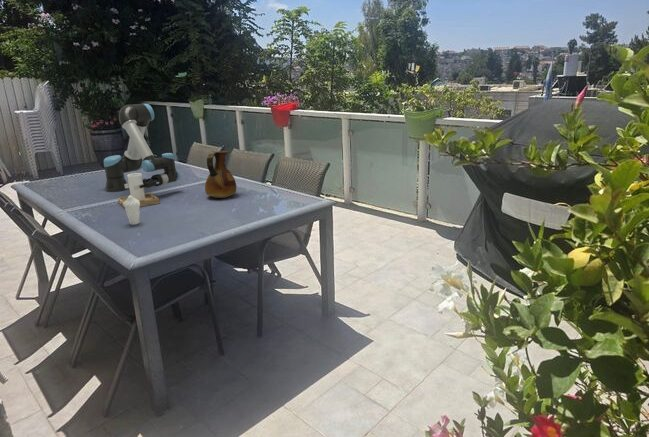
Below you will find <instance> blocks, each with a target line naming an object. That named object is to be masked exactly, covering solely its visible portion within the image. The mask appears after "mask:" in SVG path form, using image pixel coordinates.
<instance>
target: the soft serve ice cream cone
mask: <svg viewBox="0 0 649 437" xmlns="http://www.w3.org/2000/svg"><path fill="white" fill-rule="evenodd" d="M128 196H129V197H128ZM128 196H127V197H128V198H127V199H126V201H125V202H124V203H123V204H124V207H125V208H124V207H123V208H124V209H125V213H126V216H127V218H128V220H129V224H130V225H133V226H134V225H138V224H140V214H141V212H140V208H141V207H139V206H140V202H139V200H137V199H135V198H133V197H132V196H131V195H130V194H129V195H128Z"/></svg>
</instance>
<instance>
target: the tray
mask: <svg viewBox="0 0 649 437" xmlns="http://www.w3.org/2000/svg"><path fill="white" fill-rule="evenodd" d="M128 197H129V195H128V196H123V197H118V198H117V202H118V204H119V205H120V206H121V207H123V209H125V207H124V204H123V203H124V202H125V201H126V199H127V198H128ZM139 202H140V206H139V207H140V208H143V207H148V206H155V205H159V204H160V203H161V202H160V198H158V196H156V195H154V194H152V193H151V192H148V193H145V200H142V201H139Z"/></svg>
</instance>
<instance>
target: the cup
mask: <svg viewBox="0 0 649 437" xmlns="http://www.w3.org/2000/svg"><path fill="white" fill-rule="evenodd" d="M142 179H143V175H142V173H140V172H134V173H133V172H132V173H129V174H127V183H129V188H128V189H129V193H130V194H129V195H131V196H132V197H133V198H135V199H137V200H139V201H142V200H145V194H146V193H145V187H144V188H141V189H138V190H134V186H135V185H138V184H142V183H143V180H142Z"/></svg>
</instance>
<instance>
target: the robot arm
mask: <svg viewBox="0 0 649 437" xmlns="http://www.w3.org/2000/svg"><path fill="white" fill-rule="evenodd" d="M154 119H155V112H154V109H153V108H152V106H151V105H150V104H148V103H137V104H125V105H123V107H122V108H121V109H120V110H119V112H118V120H119V123H120V125H121V127H122V129H124V130H125V132H126V133H127V136H129V139H128V144H127V150H125V151H124V153H123V156H121V155H120V154H119V155H118V154H115V155H109V156H107V157H105V158H104V159H103V167H104V172H105V179H106V181H105V188H104V189H105V191H106V192H112V193H113V192H122V191H125V190H128V189H129V182H128V180H126V178H125V174H126V173H131V172H132V173H133V172H137V171H139V170H141V169H142V170H143V171H144V172H145V173H149V172H151V173H152V172H156V171H159V170H163V171H164V172H160V173H156V174H153V175H151V177H150V178H142V180H143V183H142V184H138V185H135V186H134V190H138V189H141V188H144V189H145V188H147V189H149V188H152V187H159V186H164V185H166V184H170V183H175V182H178V181H179V180H181V173H180V171H179V170H178V169H176V161H175V155H174V153H172V152H166V153H162V154H161V157H155V155H154V154H153V152H152V150H151V148H150V147H149V145H148V142H147V140H146V139H145V137H144V136H145V132H146V128H147V127H148V126H150V125H149V124H150V122H152V121H153V120H154Z"/></svg>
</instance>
